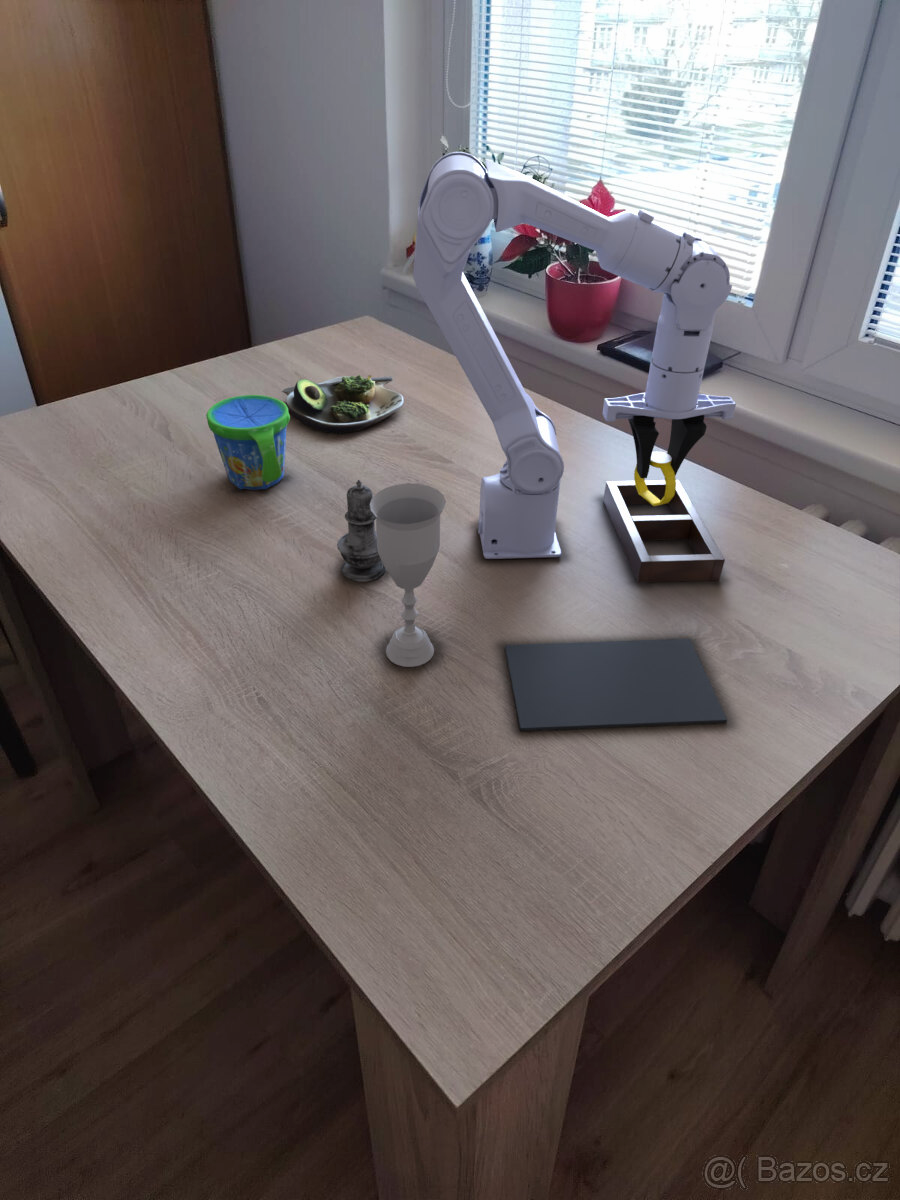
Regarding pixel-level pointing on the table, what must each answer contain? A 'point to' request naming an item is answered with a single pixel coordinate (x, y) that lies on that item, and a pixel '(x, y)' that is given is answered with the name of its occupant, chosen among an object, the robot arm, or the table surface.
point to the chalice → (408, 557)
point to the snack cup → (251, 439)
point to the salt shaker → (360, 538)
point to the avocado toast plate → (342, 403)
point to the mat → (610, 685)
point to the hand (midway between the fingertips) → (655, 473)
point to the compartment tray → (662, 534)
